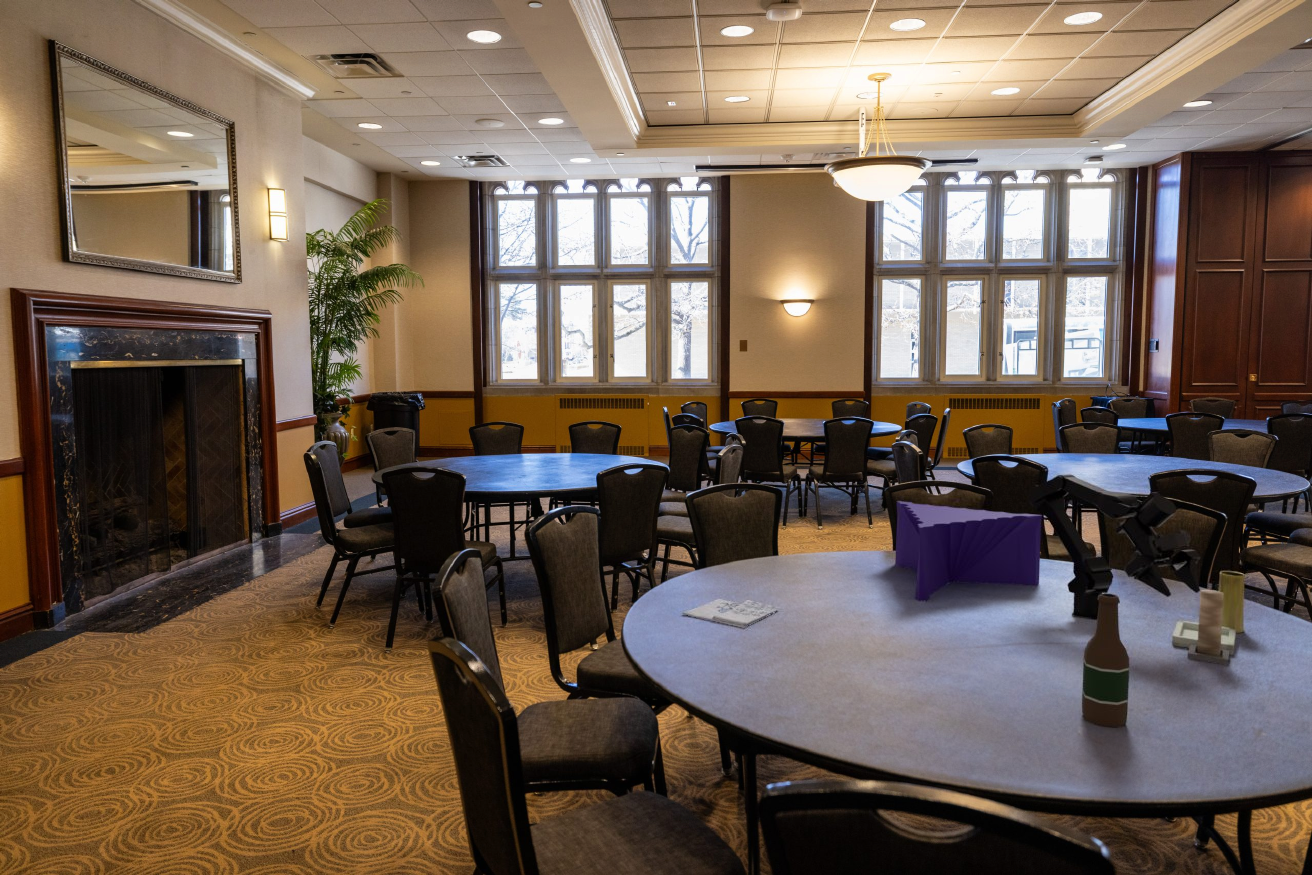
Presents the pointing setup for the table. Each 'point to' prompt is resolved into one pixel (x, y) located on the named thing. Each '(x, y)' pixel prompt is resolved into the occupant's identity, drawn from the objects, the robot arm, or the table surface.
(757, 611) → the white square relief plate
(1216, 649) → the dowel
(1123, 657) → the beer bottle
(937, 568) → the purple jagged triangular block
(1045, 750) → the table surface
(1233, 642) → the tray
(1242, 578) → the vase
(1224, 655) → the holder
